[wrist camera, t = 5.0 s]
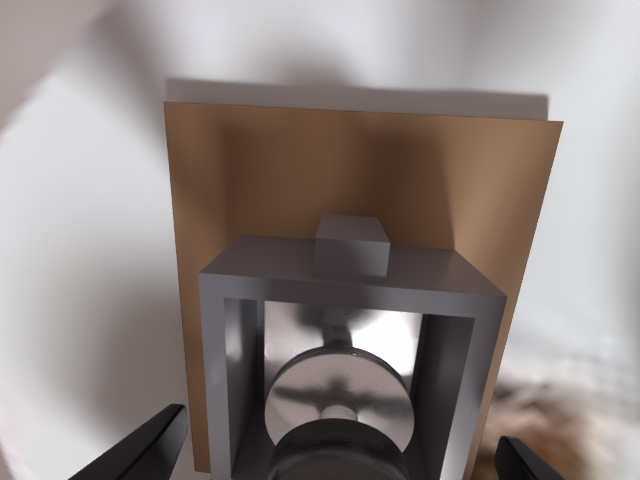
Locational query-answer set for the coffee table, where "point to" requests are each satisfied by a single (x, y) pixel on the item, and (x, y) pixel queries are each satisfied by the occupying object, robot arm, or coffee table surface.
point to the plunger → (338, 391)
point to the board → (352, 197)
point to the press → (353, 292)
